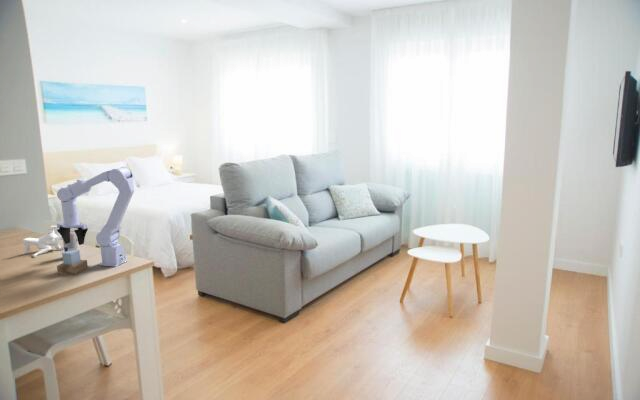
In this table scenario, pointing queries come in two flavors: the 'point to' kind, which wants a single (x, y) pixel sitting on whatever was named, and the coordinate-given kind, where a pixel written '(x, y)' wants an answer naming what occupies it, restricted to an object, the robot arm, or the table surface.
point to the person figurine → (43, 242)
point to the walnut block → (72, 268)
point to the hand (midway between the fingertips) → (74, 243)
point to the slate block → (71, 257)
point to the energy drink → (71, 242)
